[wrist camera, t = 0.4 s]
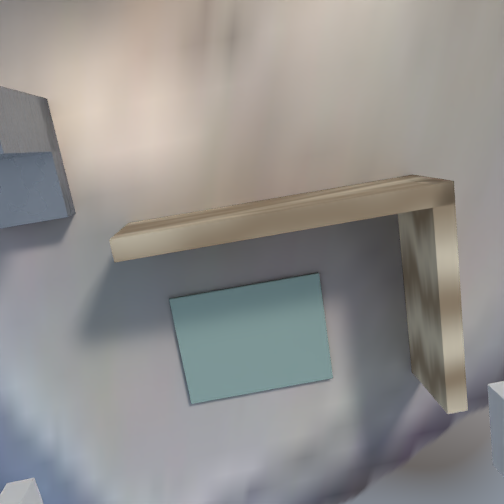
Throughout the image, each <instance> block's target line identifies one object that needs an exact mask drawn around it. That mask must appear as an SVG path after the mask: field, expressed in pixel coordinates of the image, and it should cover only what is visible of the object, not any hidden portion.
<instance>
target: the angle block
mask: <svg viewBox="0 0 504 504" xmlns="http://www.w3.org/2000/svg"><path fill="white" fill-rule="evenodd" d="M73 214H75V209H74V205H73V201H72V197H71V193H70V189H69V185H68V181H67V177H66V173H65V169H64V165H63V161H62V157H61V153H60V149H59V145H58V141H57V137H56V133H55V129H54V125H53V121H52V117H51V113H50V109H49V105H48V101H47V99H46V98H43V97H39V96H35V95H31V94H28V93H24V92H20V91H17V90H13V89H9V88H5V87H2V86H0V228H6V227H12V226H18V225H24V224H30V223H36V222H41V221H47V220H53V219H59V218H65V217H69V216H71V215H73Z"/></svg>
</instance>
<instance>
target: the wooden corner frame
mask: <svg viewBox="0 0 504 504" xmlns="http://www.w3.org/2000/svg"><path fill="white" fill-rule="evenodd" d="M393 214H398V223H399V234H400V245H401V257H402V268H403V279H404V290H405V301H406V312H407V324H408V335H409V346H410V357H411V368H412V373H413V374H414V375H415V376H416V377H417V379H418V380H419V381H420V382H421V383H422V384H423V386H424V387H425V388H426V389H427V390H428V391H429V393H430V394H431V395H432V396H433V397H434V399H435V400H436V401H437V402H438V403H439V404H440V406H441V407H442V408H443V409H444V410H445V411H446V413H447V414H451V413H456V412H462V411H467V410H468V408H467V391H466V375H465V358H464V342H463V325H462V308H461V292H460V275H459V259H458V242H457V226H456V209H455V193H454V181H450V180H444V179H437V178H431V177H424V176H418V175H409V176H403V177H397V178H391V179H385V180H379V181H373V182H368V183H362V184H356V185H350V186H344V187H338V188H332V189H326V190H321V191H315V192H309V193H303V194H297V195H291V196H285V197H279V198H273V199H268V200H262V201H256V202H250V203H244V204H238V205H232V206H226V207H220V208H215V209H209V210H203V211H197V212H191V213H185V214H179V215H173V216H167V217H162V218H156V219H150V220H144V221H138V222H132V223H128V224H127V225H126V226H125V227H123V228H122V229H121V230H120V231H119V232H118V233H117V234H115V235H114V236H113V237H112V238H111V239H110V240H109V241H110V245H111V250H112V254H113V258H114V262H120V261H126V260H132V259H138V258H143V257H149V256H155V255H161V254H167V253H172V252H178V251H184V250H190V249H196V248H201V247H207V246H213V245H219V244H225V243H230V242H236V241H242V240H248V239H254V238H259V237H265V236H271V235H277V234H283V233H288V232H294V231H300V230H306V229H312V228H317V227H323V226H329V225H335V224H341V223H346V222H352V221H358V220H364V219H370V218H375V217H381V216H387V215H393Z"/></svg>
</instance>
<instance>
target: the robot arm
mask: <svg viewBox="0 0 504 504" xmlns="http://www.w3.org/2000/svg"><path fill="white" fill-rule="evenodd" d="M488 398H489V413H490V428H491V443H492V457H493V466H494V467H495V468H496V469H497V471H498V472H499V473H500V474H501V475H502V476H503V477H504V381H501V382H496V383H492V384H488ZM0 504H43V501H42V498H41V495H40V493H39V490H38V487H37V484H36V481H35V478H30V479H26V480H21V481H16V482H11V483H7V484H6V486H5V488H4V489H3V491H2V492H1V494H0Z"/></svg>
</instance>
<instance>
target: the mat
mask: <svg viewBox="0 0 504 504" xmlns="http://www.w3.org/2000/svg"><path fill="white" fill-rule="evenodd" d="M169 301H170V306H171V310H172V315H173V320H174V325H175V329H176V334H177V339H178V343H179V348H180V353H181V357H182V362H183V367H184V371H185V376H186V381H187V386H188V390H189V395H190V400H191V404H194V403H199V402H205V401H210V400H216V399H221V398H227V397H232V396H238V395H243V394H249V393H254V392H259V391H265V390H270V389H276V388H281V387H287V386H292V385H298V384H303V383H309V382H314V381H320V380H325V379H331V378H333V375H332V367H331V360H330V352H329V345H328V337H327V330H326V322H325V315H324V307H323V300H322V292H321V285H320V277H319V273H314V274H308V275H302V276H296V277H291V278H285V279H279V280H274V281H268V282H262V283H257V284H251V285H245V286H239V287H234V288H228V289H222V290H217V291H211V292H205V293H199V294H194V295H188V296H182V297H177V298H171V299H169Z"/></svg>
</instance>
